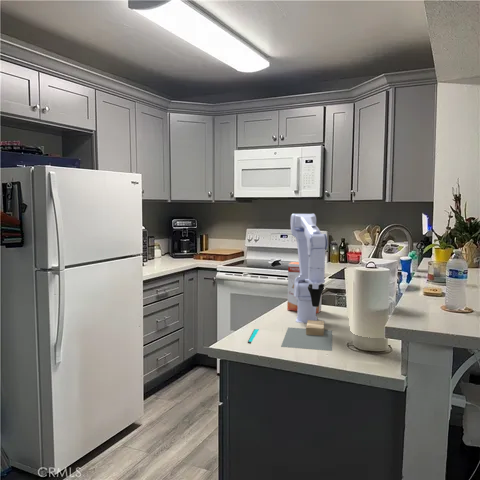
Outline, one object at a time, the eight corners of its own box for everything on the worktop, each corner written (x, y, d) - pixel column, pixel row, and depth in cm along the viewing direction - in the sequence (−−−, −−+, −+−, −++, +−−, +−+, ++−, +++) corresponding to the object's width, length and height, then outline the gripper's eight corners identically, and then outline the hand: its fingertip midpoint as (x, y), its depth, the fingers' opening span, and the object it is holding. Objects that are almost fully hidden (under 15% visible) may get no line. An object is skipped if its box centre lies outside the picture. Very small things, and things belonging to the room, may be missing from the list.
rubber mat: (288, 328, 154) (288, 327, 154) (332, 331, 151) (332, 330, 151) (280, 348, 133) (280, 346, 133) (332, 352, 129) (332, 350, 129)
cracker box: (286, 310, 181) (287, 263, 180) (290, 307, 187) (291, 261, 185) (318, 313, 176) (319, 265, 174) (321, 310, 182) (322, 263, 180)
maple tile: (305, 334, 146) (307, 326, 155) (323, 335, 144) (324, 327, 154) (306, 327, 145) (307, 319, 155) (323, 328, 144) (324, 321, 154)
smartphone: (247, 341, 137) (254, 328, 152) (247, 344, 138) (254, 331, 152) (269, 343, 136) (274, 330, 151) (269, 345, 136) (274, 332, 151)
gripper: (306, 264, 156) (305, 300, 157) (303, 270, 142) (303, 309, 143) (325, 265, 155) (324, 301, 156) (324, 271, 140) (324, 310, 141)
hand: (315, 305), depth 149 cm, fingers open, 3 cm apart
